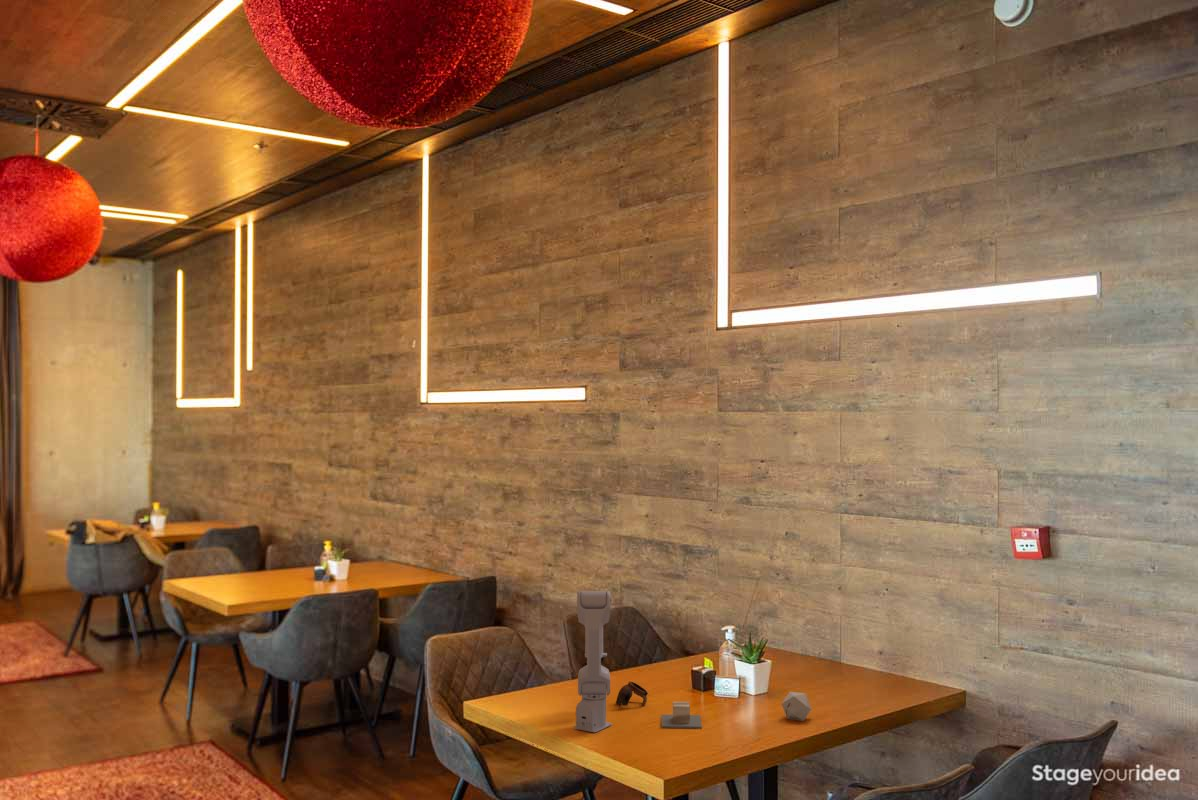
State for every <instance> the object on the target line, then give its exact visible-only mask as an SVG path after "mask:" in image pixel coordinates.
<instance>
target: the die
mask: <svg viewBox="0 0 1198 800" xmlns="http://www.w3.org/2000/svg"><path fill="white" fill-rule="evenodd" d="M781 706H782V709H783V711H784V714H785V717H786V719H787V720H791V721H792V720H793V721H798V722H799V721H800V722H804V721H805V720H806V719H807V716H808V715H809V714H810V712H811V711H812V710H813V708H812V707H811V704H810V701H809V699H808V696H807V693H803V692H795V691H794V692H793V691H789V692H788V694H787V695H786V696H785V698H784V699H783V701H782V702H781Z"/></svg>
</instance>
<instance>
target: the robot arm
mask: <svg viewBox="0 0 1198 800" xmlns="http://www.w3.org/2000/svg"><path fill="white" fill-rule="evenodd" d="M576 594H577V595H576V610H577V619H578V623H580V625H583V626H584V630H585V633H584V634H585V635H584V636H585V638H584V641H585V642H584V649H585V651H584V657H585V658H586V662H584V664H583V667H581V668H580V669H579V671H578V674H577V675H578V676H577V694H578V695H579V697H581V700H580V701H579V702H578V703H577V704H576V707H575V726H573V729H575V730H579V731H585V732H590V733H598V732H600V731H603V730H604V729H606V728H608V727H610V726H612V725H613V723H612V722H607V697H608V696H610V694H611V673H610V670H609V668H607V667H605V666H604V665H603V661H604V660H605V657H607V656H608V653H607V652H604V626H605V625H606V624H608V623H609V622H610V618H611V591H609V590H578V591H577V593H576Z"/></svg>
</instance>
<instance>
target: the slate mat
mask: <svg viewBox="0 0 1198 800" xmlns="http://www.w3.org/2000/svg"><path fill="white" fill-rule="evenodd" d="M702 728H703V726H702V718H701V715H700V714H690V723H673V714H661V729H687V730H688V729H690V730H691V729H694V730H695V729H698V730H699V729H701V730H702Z"/></svg>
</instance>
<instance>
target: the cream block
mask: <svg viewBox="0 0 1198 800" xmlns="http://www.w3.org/2000/svg"><path fill="white" fill-rule="evenodd" d="M690 705H691V704H690V701H672V715H673V723H690V715H691V708H690V707H691V706H690Z"/></svg>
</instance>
